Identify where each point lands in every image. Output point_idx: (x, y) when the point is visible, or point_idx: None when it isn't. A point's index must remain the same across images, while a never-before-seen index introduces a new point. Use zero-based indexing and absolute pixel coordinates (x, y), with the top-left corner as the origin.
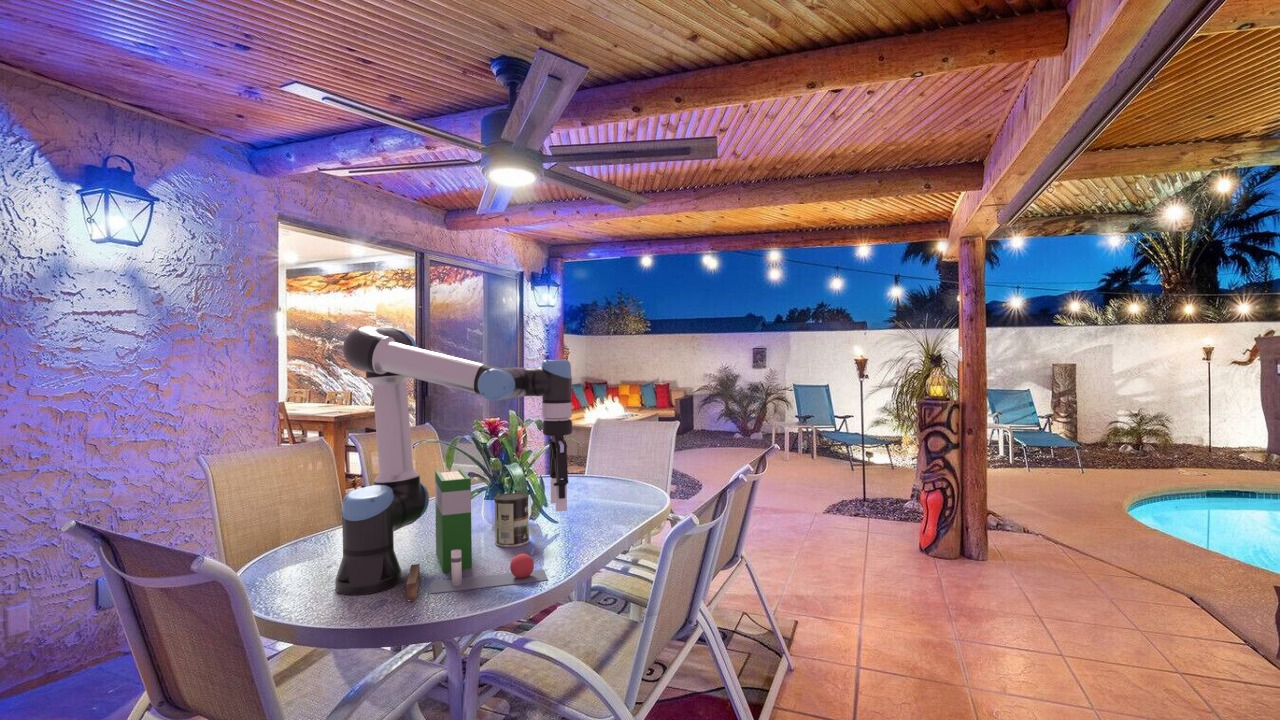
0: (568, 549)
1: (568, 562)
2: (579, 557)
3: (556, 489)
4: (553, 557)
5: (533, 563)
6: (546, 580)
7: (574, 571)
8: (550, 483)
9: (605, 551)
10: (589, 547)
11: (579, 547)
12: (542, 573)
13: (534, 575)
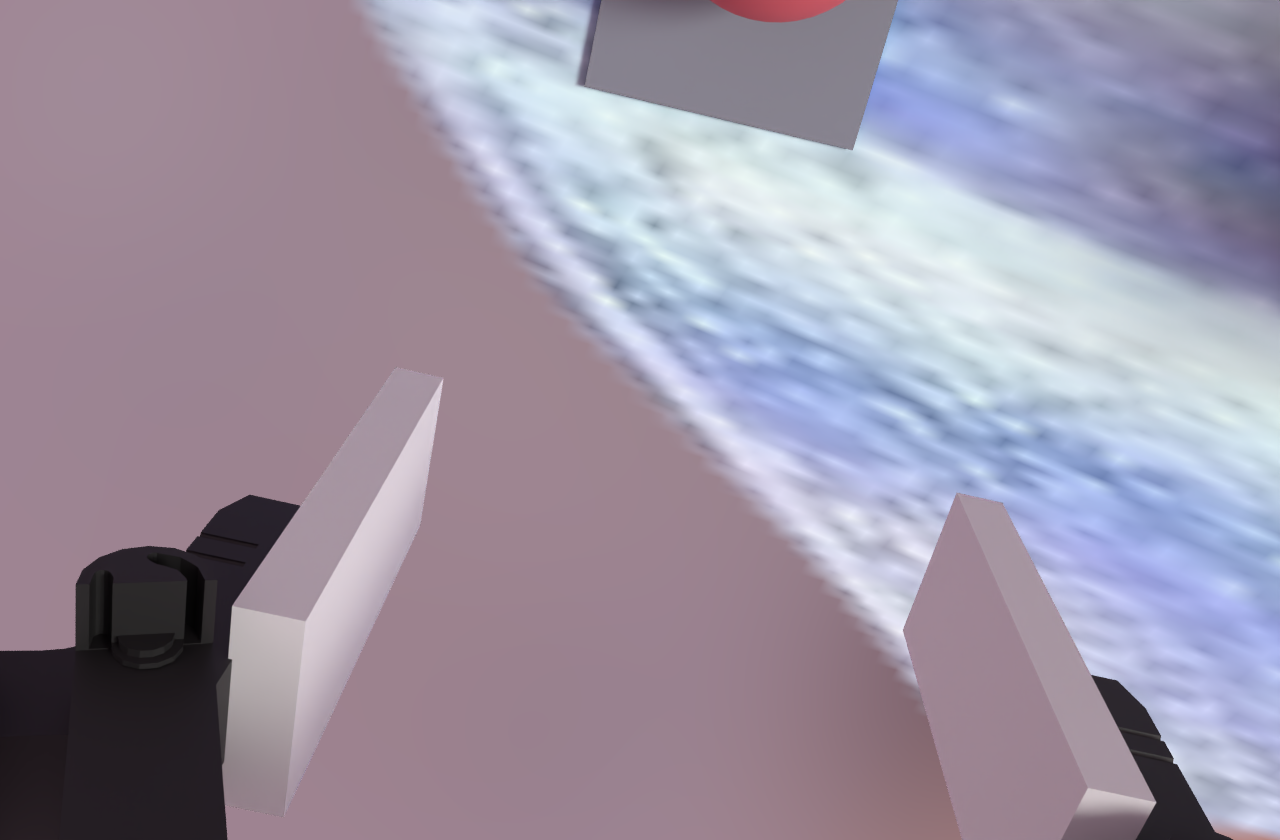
0: (1216, 525)
1: (906, 398)
2: None
3: (262, 564)
4: (1112, 343)
5: (716, 2)
6: (589, 71)
7: (674, 353)
8: (1108, 719)
9: None
10: (1137, 671)
11: (1196, 613)
12: (757, 98)
13: None
